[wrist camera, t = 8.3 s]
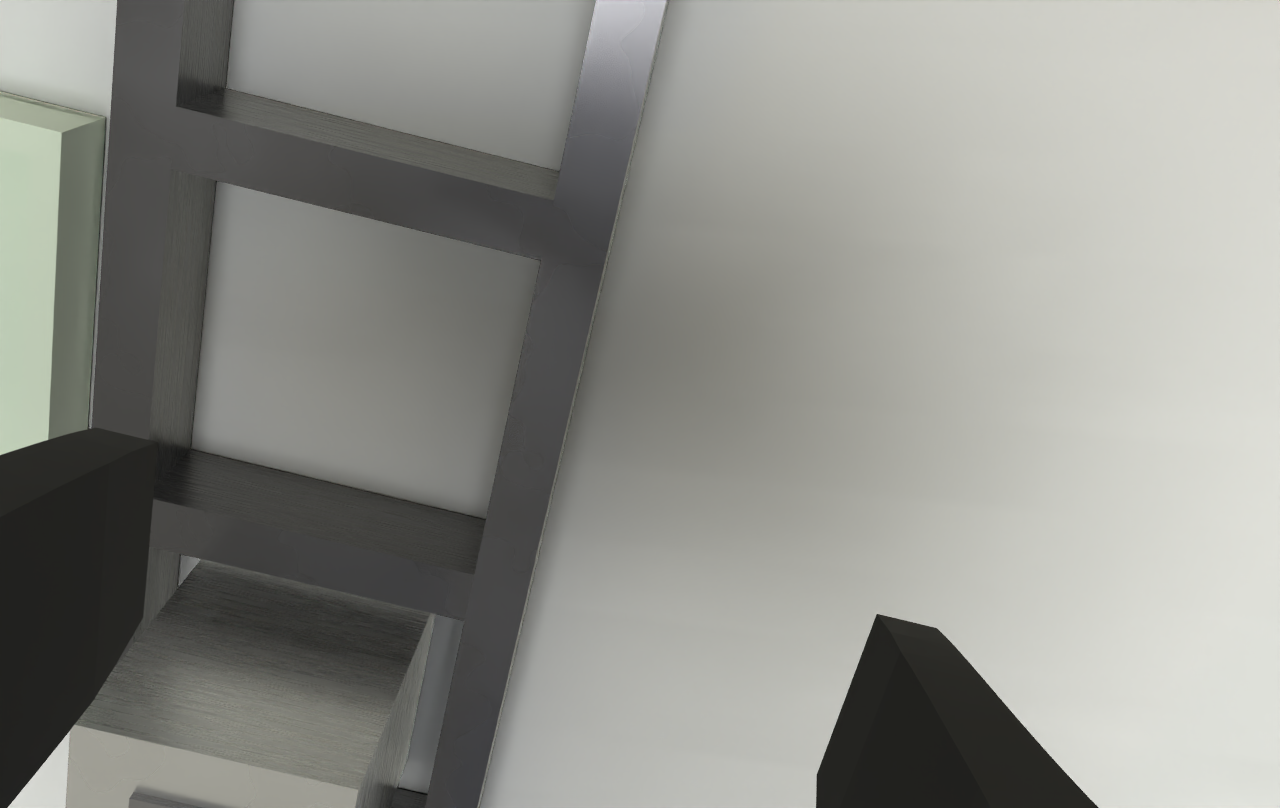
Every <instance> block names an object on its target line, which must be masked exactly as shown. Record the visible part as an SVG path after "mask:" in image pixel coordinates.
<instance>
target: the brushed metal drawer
mask: <svg viewBox="0 0 1280 808" xmlns="http://www.w3.org/2000/svg"><path fill="white" fill-rule="evenodd" d="M435 617H436V614H433V613H429V612H425V611H420V610H416V609H412V608H408V607H403V606H399V605H395V604H391V603H386V602H382V601H378V600H374V599H369V598H365V597H361V596H357V595H352V594H348V593H344V592H340V591H335V590H331V589H327V588H323V587H318V586H314V585H310V584H306V583H302V582H297V581H293V580H289V579H285V578H280V577H276V576H272V575H268V574H263V573H259V572H255V571H251V570H246V569H242V568H238V567H234V566H229V565H225V564H221V563H217V562H212V561H208V560H204V559H201V560H200V561H199V562H198V564H197V565H196V566H195V568H194V569H193V570H192V571H191V573H190V574H189V575H188V576H187V578H186V579H185V580H184V581H183V583H182V584H181V585H180V586H179V588H178V589H177V590H176V591H175V593H174V594H173V595H172V597H171V598H170V599H169V600H168V602H167V603H166V604H165V605H164V607H163V608H162V609H161V610H160V612H159V613H158V614H157V615H156V617H155V618H154V619H153V620H152V622H151V623H150V624H149V626H148V627H147V628H146V629H145V631H144V632H143V633H142V634H141V636H140V637H139V638H138V639H137V641H136V642H135V643H134V644H133V646H132V647H131V648H130V649H129V651H128V652H127V653H126V655H125V656H124V657H123V658H122V660H121V661H120V662H119V663H118V665H117V666H116V667H115V668H114V670H113V671H112V672H111V673H110V675H109V676H108V678H107V680H106V681H105V683H104V684H103V686H102V688H101V689H100V691H99V692H98V694H97V696H96V697H95V699H94V700H93V702H92V703H91V704H90V706H89V707H88V708H87V709H86V711H85V712H84V713H83V715H82V716H81V717H80V718H79V720H78V721H77V722H76V723H75V725H74V726H73V727H72V728H71V730H70V741H69V758H68V776H67V794H66V808H390V806H391V803H392V800H393V797H394V795H395V792H396V789H397V787H398V784H399V781H400V778H401V776H402V773H403V770H404V767H405V765H406V762H407V758H408V753H409V748H410V743H411V738H412V733H413V728H414V723H415V718H416V713H417V707H418V702H419V697H420V692H421V687H422V682H423V677H424V672H425V667H426V662H427V657H428V652H429V647H430V642H431V637H432V632H433V627H434V622H435Z"/></svg>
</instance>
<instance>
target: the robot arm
mask: <svg viewBox="0 0 1280 808" xmlns="http://www.w3.org/2000/svg"><path fill="white" fill-rule="evenodd" d="M157 448H158V442H155V441H151V440H146V439H142V438H138V437H134V436H130V435H126V434H121V433H117V432H113V431H109V430H105V429H100V428H91V429H87V430H82V431H78V432H74V433H70V434H66V435H63V436H59V437H56V438H52V439H49V440H46V441H43V442H39V443H36V444H33V445H30V446H27V447H24V448H20V449H17V450H14V451H11V452H8V453H5V454H2V455H0V808H7V807H8V806H9V805H10V804H11V803H12V801H13V800H14V799H15V798H16V796H17V795H18V794H19V793H20V792H21V790H22V789H23V788H24V787H25V785H26V784H27V783H28V782H29V781H30V779H31V778H32V777H33V776H34V774H35V773H36V772H37V771H38V770H39V768H40V767H41V766H42V765H43V763H44V762H45V761H46V760H47V758H48V757H49V756H50V755H51V753H52V752H53V751H54V750H55V748H56V747H57V746H58V745H59V743H60V742H61V741H62V740H63V738H64V737H65V736H66V735H67V733H68V732H69V731H70V730H71V728H72V727H73V726H74V725H75V723H76V722H77V721H78V720H79V718H80V717H81V716H82V715H83V713H84V712H85V711H86V709H87V708H88V707H89V706H90V704H91V703H92V702H93V700H94V699H95V697H96V696H97V694H98V692H99V691H100V689H101V688H102V686H103V684H104V683H105V681H106V680H107V678H108V676H109V675H110V673H111V672H112V670H113V668H114V667H115V665H116V664H117V662H118V660H119V658H120V657H121V655H122V653H123V652H124V650H125V648H126V646H127V645H128V643H129V641H130V639H131V638H132V636H133V634H134V633H135V631H136V629H137V627H138V626H139V624H140V622H141V621H142V619H143V614H144V602H145V590H146V579H147V567H148V555H149V543H150V531H151V519H152V508H153V496H154V484H155V472H156V460H157ZM816 808H1098V807H1097V806H1096V805H1095V804H1094V803H1093V802H1092V801H1091V800H1090V799H1089V798H1088V797H1087V795H1086V794H1085V793H1084V792H1083V791H1082V790H1081V789H1080V788H1079V787H1078V786H1077V785H1076V784H1075V783H1074V782H1073V780H1072V779H1071V778H1070V777H1069V776H1068V775H1067V774H1066V773H1065V772H1064V771H1063V770H1062V769H1061V767H1060V766H1059V765H1058V764H1057V763H1056V762H1055V761H1054V760H1053V759H1052V758H1051V756H1050V755H1049V754H1048V753H1047V752H1046V751H1045V750H1044V749H1043V747H1042V746H1041V745H1040V744H1039V743H1038V742H1037V741H1036V740H1035V738H1034V737H1033V736H1032V735H1031V734H1030V733H1029V732H1028V730H1027V729H1026V728H1025V727H1024V726H1023V725H1022V724H1021V722H1020V721H1019V720H1018V719H1017V718H1016V717H1015V715H1014V714H1013V713H1012V712H1011V711H1010V710H1009V709H1008V707H1007V706H1006V705H1005V704H1004V703H1003V702H1002V700H1001V699H1000V698H999V697H998V696H997V695H996V693H995V692H994V691H993V690H992V689H991V688H990V686H989V685H988V684H987V683H986V682H985V680H984V679H983V678H982V677H981V676H980V675H979V674H978V672H977V671H976V670H975V669H974V668H973V667H972V665H971V664H970V663H969V662H968V661H967V660H966V659H965V657H964V656H963V655H962V654H961V653H960V652H959V651H958V650H957V648H956V647H955V646H954V645H953V644H952V643H951V642H950V641H949V640H948V639H947V638H946V637H945V636H944V635H943V634H942V633H941V632H940V631H939V630H938V629H937V628H934V627H929V626H925V625H921V624H917V623H913V622H908V621H904V620H900V619H896V618H892V617H887V616H883V615H879V614H877V615H876V618H875V621H874V623H873V626H872V629H871V631H870V634H869V637H868V639H867V642H866V645H865V647H864V650H863V653H862V655H861V658H860V661H859V663H858V666H857V669H856V671H855V674H854V677H853V679H852V682H851V685H850V687H849V690H848V693H847V696H846V698H845V701H844V704H843V706H842V709H841V712H840V714H839V717H838V720H837V722H836V725H835V728H834V730H833V733H832V736H831V738H830V741H829V744H828V746H827V749H826V752H825V754H824V757H823V760H822V762H821V765H820V768H819V770H818V773H817V797H816Z"/></svg>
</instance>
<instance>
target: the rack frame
mask: <svg viewBox="0 0 1280 808" xmlns="http://www.w3.org/2000/svg"><path fill="white" fill-rule="evenodd" d="M233 2H234V0H117V16H116V33H115V49H114V66H113V83H112V100H111V116H110V133H109V150H108V167H107V183H106V200H105V217H104V234H103V250H102V267H101V284H100V301H99V317H98V334H97V351H96V368H95V384H94V401H93V418H92V428H100V429H105V430H109V431H113V432H117V433H121V434H126V435H130V436H134V437H138V438H142V439H146V440H151V441H155V442H158V448H157V460H156V472H155V484H154V496H153V508H152V519H151V531H150V543H149V555H148V567H147V579H146V590H145V602H144V614H143V619H142V621H141V622H140V624H139V626H138V627H137V629H136V631H135V633H134V634H133V636H132V638H131V639H130V641H129V643H128V645H127V646H126V648H125V650H124V652H123V653H122V655H121V657H120V658H119V660H118V662H117V664H116V665H115V667H116V666H117V665H118V663H119V662H120V661H121V660H122V658H123V657H124V656H125V655H126V653H127V652H128V651H129V649H130V648H131V647H132V646H133V644H134V643H135V642H136V641H137V639H138V638H139V637H140V636H141V634H142V633H143V632H144V631H145V629H146V628H147V627H148V626H149V624H150V623H151V622H152V620H153V619H154V618H155V617H156V615H157V614H158V613H159V612H160V610H161V609H162V608H163V607H164V605H165V604H166V603H167V602H168V600H169V599H170V598H171V597H172V595H173V594H174V593H175V591H176V590H177V581H178V571H179V560H180V554H183V555H187V556H191V557H195V558H200V559H204V560H208V561H212V562H217V563H221V564H225V565H229V566H234V567H238V568H242V569H246V570H251V571H255V572H259V573H263V574H268V575H272V576H276V577H280V578H285V579H289V580H293V581H297V582H302V583H306V584H310V585H314V586H318V587H323V588H327V589H331V590H335V591H340V592H344V593H348V594H352V595H357V596H361V597H365V598H369V599H374V600H378V601H382V602H386V603H391V604H395V605H399V606H403V607H408V608H412V609H416V610H420V611H425V612H429V613H433V614H437V615H442V616H446V617H450V618H454V619H458V620H463V621H464V626H463V631H462V636H461V640H460V645H459V650H458V655H457V659H456V664H455V669H454V673H453V678H452V683H451V688H450V692H449V697H448V702H447V706H446V711H445V716H444V721H443V725H442V730H441V735H440V739H439V744H438V749H437V754H436V758H435V763H434V768H433V773H432V777H431V782H430V787H429V791H428V795H424V794H420V793H415V792H411V791H407V790H402V789H398V788H397V789H396V792H395V795H394V797H393V800H392V803H391V806H390V808H479V807H480V803H481V799H482V795H483V790H484V786H485V782H486V778H487V773H488V769H489V765H490V761H491V756H492V752H493V748H494V744H495V739H496V735H497V731H498V727H499V722H500V718H501V714H502V709H503V705H504V701H505V697H506V692H507V688H508V684H509V680H510V675H511V671H512V667H513V663H514V658H515V654H516V650H517V646H518V641H519V637H520V633H521V629H522V624H523V620H524V616H525V612H526V607H527V603H528V599H529V595H530V590H531V586H532V582H533V578H534V573H535V569H536V565H537V561H538V556H539V552H540V548H541V544H542V539H543V535H544V531H545V527H546V522H547V518H548V514H549V509H550V505H551V501H552V497H553V492H554V488H555V484H556V480H557V475H558V471H559V467H560V463H561V458H562V454H563V450H564V446H565V441H566V437H567V433H568V429H569V424H570V420H571V416H572V412H573V407H574V403H575V399H576V395H577V390H578V386H579V382H580V378H581V373H582V369H583V365H584V361H585V356H586V352H587V348H588V344H589V339H590V335H591V331H592V327H593V322H594V318H595V314H596V310H597V305H598V301H599V297H600V292H601V288H602V284H603V280H604V275H605V271H606V267H607V263H608V258H609V254H610V250H611V246H612V241H613V237H614V233H615V229H616V224H617V220H618V216H619V212H620V207H621V203H622V199H623V195H624V190H625V186H626V182H627V178H628V173H629V169H630V165H631V161H632V156H633V152H634V148H635V144H636V139H637V135H638V131H639V127H640V122H641V118H642V114H643V110H644V105H645V101H646V97H647V93H648V88H649V84H650V80H651V75H652V71H653V67H654V63H655V58H656V54H657V50H658V46H659V41H660V37H661V33H662V29H663V24H664V20H665V16H666V12H667V7H668V3H669V0H596V3H595V8H594V12H593V17H592V22H591V27H590V31H589V36H588V41H587V45H586V50H585V55H584V60H583V64H582V69H581V74H580V78H579V83H578V88H577V93H576V97H575V102H574V107H573V111H572V116H571V121H570V126H569V130H568V135H567V140H566V145H565V149H564V154H563V159H562V163H561V168H560V172H558V171H554V170H550V169H546V168H542V167H538V166H534V165H530V164H526V163H522V162H518V161H514V160H510V159H506V158H502V157H498V156H494V155H490V154H486V153H482V152H478V151H474V150H470V149H466V148H462V147H458V146H454V145H450V144H446V143H442V142H438V141H434V140H430V139H426V138H422V137H418V136H414V135H410V134H406V133H402V132H398V131H394V130H390V129H386V128H382V127H378V126H374V125H370V124H366V123H362V122H358V121H354V120H350V119H346V118H342V117H338V116H334V115H330V114H326V113H322V112H318V111H314V110H310V109H306V108H302V107H298V106H294V105H290V104H286V103H282V102H278V101H274V100H270V99H266V98H262V97H258V96H254V95H250V94H246V93H242V92H238V91H234V90H230V89H226V88H225V84H226V74H227V64H228V53H229V43H230V33H231V22H232V12H233ZM216 180H217V181H221V182H225V183H229V184H233V185H237V186H241V187H245V188H249V189H253V190H257V191H261V192H265V193H269V194H273V195H277V196H282V197H286V198H290V199H294V200H298V201H302V202H306V203H310V204H314V205H318V206H322V207H326V208H330V209H334V210H338V211H342V212H346V213H350V214H354V215H358V216H363V217H367V218H371V219H375V220H379V221H383V222H387V223H391V224H395V225H399V226H403V227H407V228H411V229H415V230H419V231H423V232H427V233H431V234H435V235H439V236H443V237H448V238H452V239H456V240H460V241H464V242H468V243H472V244H476V245H480V246H484V247H488V248H492V249H496V250H500V251H504V252H508V253H512V254H516V255H520V256H524V257H529V258H533V259H537V260H541V263H540V267H539V272H538V277H537V281H536V286H535V291H534V296H533V300H532V305H531V310H530V315H529V319H528V324H527V329H526V333H525V338H524V343H523V348H522V352H521V357H520V362H519V366H518V371H517V376H516V381H515V385H514V390H513V395H512V400H511V404H510V409H509V414H508V418H507V423H506V428H505V433H504V437H503V442H502V447H501V451H500V456H499V461H498V466H497V470H496V475H495V480H494V485H493V489H492V494H491V499H490V503H489V508H488V513H487V518H486V520H483V519H479V518H475V517H471V516H467V515H463V514H458V513H454V512H450V511H446V510H442V509H437V508H433V507H429V506H425V505H421V504H417V503H412V502H408V501H404V500H400V499H396V498H391V497H387V496H383V495H379V494H375V493H370V492H366V491H362V490H358V489H354V488H350V487H345V486H341V485H337V484H333V483H329V482H324V481H320V480H316V479H312V478H308V477H303V476H299V475H295V474H291V473H287V472H283V471H278V470H274V469H270V468H266V467H262V466H257V465H253V464H249V463H245V462H241V461H236V460H232V459H228V458H224V457H220V456H216V455H211V454H207V453H203V452H199V451H195V450H190V447H191V436H192V426H193V416H194V405H195V395H196V385H197V374H198V364H199V353H200V343H201V333H202V322H203V312H204V302H205V291H206V281H207V271H208V260H209V250H210V240H211V229H212V219H213V209H214V198H215V188H216ZM115 667H114V668H115ZM114 668H113V670H114ZM113 670H112V671H113Z"/></svg>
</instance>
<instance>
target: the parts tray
mask: <svg viewBox="0 0 1280 808" xmlns="http://www.w3.org/2000/svg"><path fill="white" fill-rule="evenodd" d="M105 121H106V117H102V116H98V115H94V114H90V113H86V112H82V111H78V110H74V109H70V108H66V107H62V106H58V105H54V104H50V103H46V102H42V101H37V100H33V99H29V98H25V97H21V96H17V95H13V94H9V93H5V92H1V91H0V455H2V454H5V453H8V452H11V451H14V450H17V449H20V448H24V447H27V446H30V445H33V444H36V443H39V442H43V441H46V440H49V439H52V438H56V437H59V436H63V435H66V434H70V433H74V432H78V431H82V430H87V429H88V414H89V396H90V379H91V362H92V345H93V328H94V310H95V293H96V276H97V259H98V242H99V224H100V207H101V190H102V173H103V156H104V138H105Z"/></svg>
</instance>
